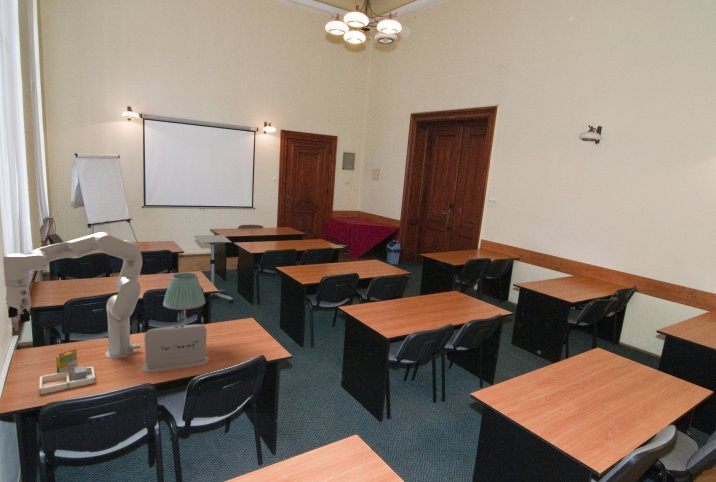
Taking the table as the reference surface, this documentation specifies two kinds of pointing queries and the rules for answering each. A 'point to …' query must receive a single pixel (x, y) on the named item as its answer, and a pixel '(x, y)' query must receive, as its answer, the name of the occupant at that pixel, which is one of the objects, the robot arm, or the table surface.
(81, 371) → the grey block
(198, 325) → the wireless router
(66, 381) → the divided tray
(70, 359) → the crayon box
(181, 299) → the table lamp
